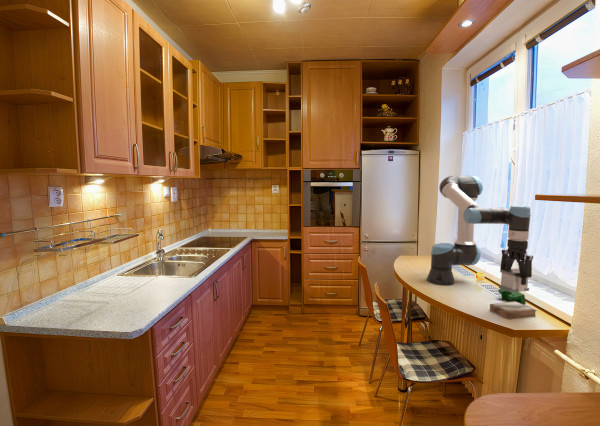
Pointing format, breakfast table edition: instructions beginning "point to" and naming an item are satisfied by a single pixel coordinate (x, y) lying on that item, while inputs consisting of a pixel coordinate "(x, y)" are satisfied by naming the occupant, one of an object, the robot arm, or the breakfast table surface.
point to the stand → (512, 310)
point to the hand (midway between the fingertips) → (513, 288)
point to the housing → (511, 280)
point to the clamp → (512, 296)
